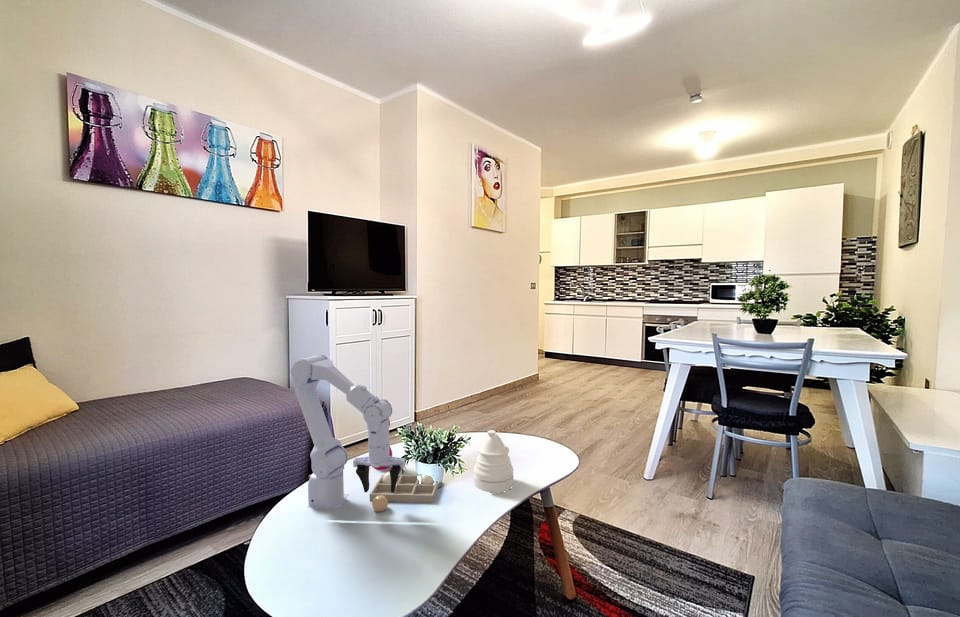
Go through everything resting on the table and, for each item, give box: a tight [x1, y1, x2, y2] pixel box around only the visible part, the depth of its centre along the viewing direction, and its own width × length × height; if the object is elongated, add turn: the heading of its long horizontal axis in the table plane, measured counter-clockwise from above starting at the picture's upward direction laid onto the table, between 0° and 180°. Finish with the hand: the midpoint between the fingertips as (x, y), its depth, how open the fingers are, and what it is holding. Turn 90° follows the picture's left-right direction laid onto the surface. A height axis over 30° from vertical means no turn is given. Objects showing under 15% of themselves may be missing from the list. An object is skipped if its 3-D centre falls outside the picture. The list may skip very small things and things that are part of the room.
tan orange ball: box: [371, 495, 389, 513], centre depth 119 cm, size 4×4×4 cm
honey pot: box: [473, 429, 514, 494], centre depth 135 cm, size 13×13×18 cm
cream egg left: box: [383, 471, 391, 484], centre depth 133 cm, size 4×4×4 cm
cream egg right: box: [421, 474, 434, 485], centre depth 132 cm, size 4×4×4 cm
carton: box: [369, 474, 439, 503], centre depth 130 cm, size 19×13×3 cm
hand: (380, 491), depth 119 cm, fingers open, 7 cm apart
